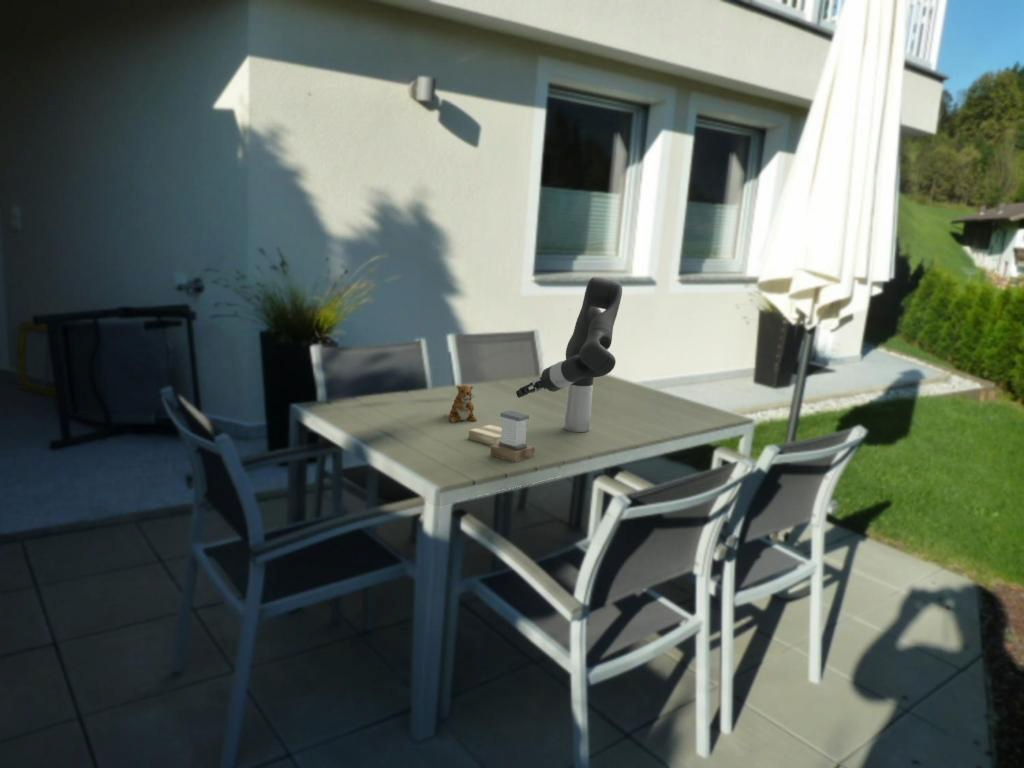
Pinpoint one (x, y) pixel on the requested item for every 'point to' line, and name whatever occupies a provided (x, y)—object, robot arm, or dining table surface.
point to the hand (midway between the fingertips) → (527, 391)
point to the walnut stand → (512, 453)
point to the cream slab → (486, 434)
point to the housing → (513, 430)
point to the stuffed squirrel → (463, 405)
